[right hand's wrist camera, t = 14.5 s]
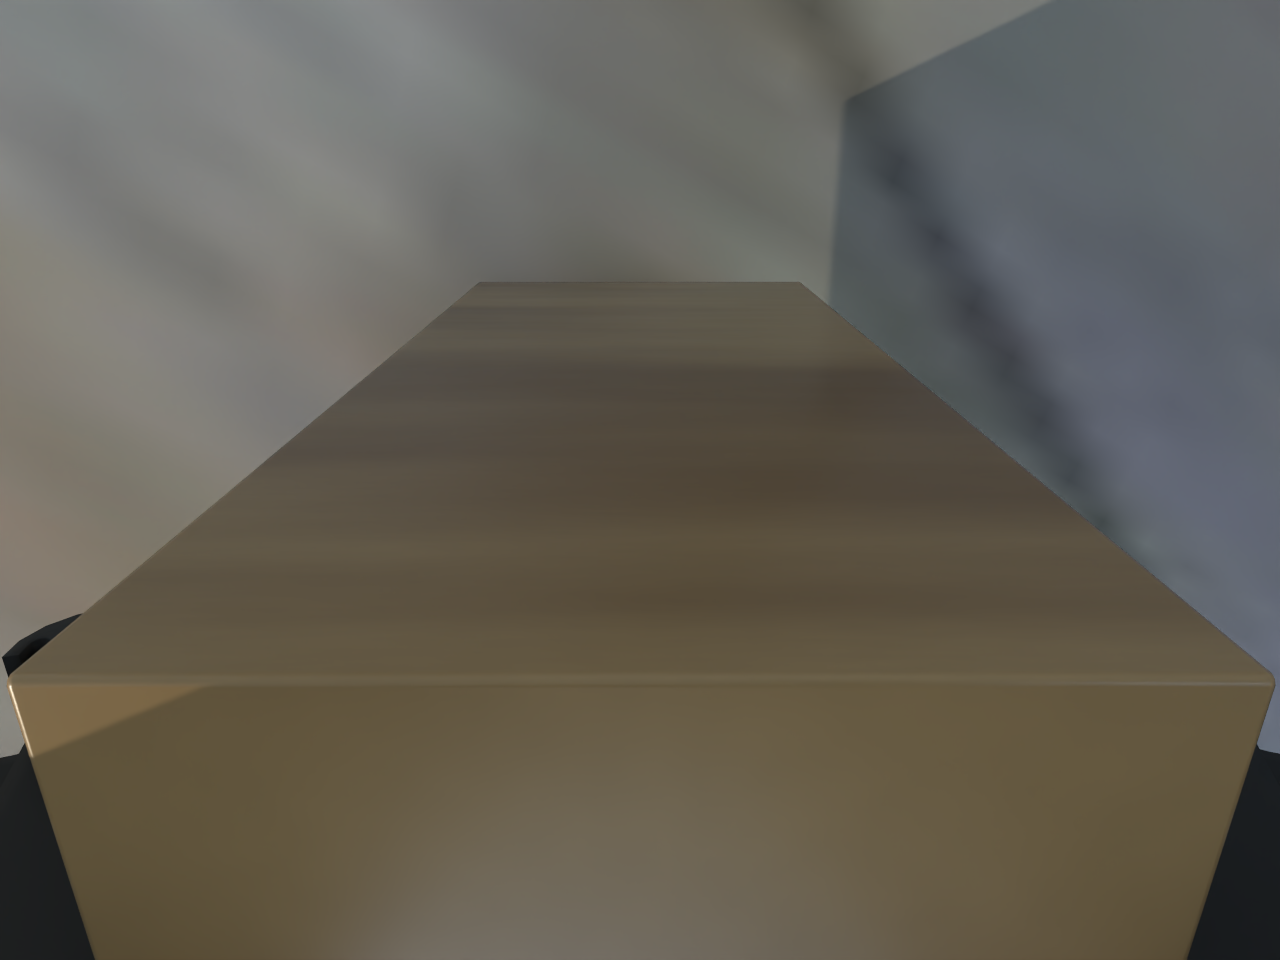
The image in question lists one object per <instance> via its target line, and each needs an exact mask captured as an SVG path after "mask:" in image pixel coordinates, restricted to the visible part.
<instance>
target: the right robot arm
mask: <svg viewBox="0 0 1280 960" xmlns="http://www.w3.org/2000/svg"><path fill="white" fill-rule="evenodd" d="M81 615H82V614H78V615H75V616H72V617H70V618H67V619H64V620H61V621H58V622H56V623H53V624H50V625H47V626H45V627H43V628H42V629H40V630H38V631H36V632H34V633H33V634H31V635H29V636H27V637H25V638H24V639H22V640H20V641H19V642H18V643H17V644H15V645H14V646H13V647H12V648H11V649H10V650H9V651H8V652H7V653H6V654H5V655H4V656H3V657H2V659H3V662H4V665H5V668H6V671H7V674H8V678H9V676H10V674H11V673H12V672H14V671H15V670H16V669H17V668H18V667H20V666H21V665H22V664H23V663H24V662H26V661H27V660H28V659H29V658H30V657H32V656H33V655H34V654H35V653H36V652H38V651H39V650H40V649H41V648H42V647H44V646H45V645H46V644H47V643H48V642H50V641H51V640H52V639H53V638H54V637H56V636H57V635H58V634H59V633H60V632H62V631H63V630H64V629H65V628H66V627H68V626H69V625H70V624H71V623H72V622H74V621H75V620H76V619H77V618H78V617H79V616H81ZM0 960H95V958H94V955H93V952H92V949H91V946H90V943H89V939H88V936H87V933H86V930H85V927H84V924H83V921H82V918H81V915H80V912H79V908H78V905H77V902H76V899H75V896H74V893H73V890H72V887H71V884H70V881H69V877H68V874H67V871H66V868H65V865H64V862H63V859H62V856H61V853H60V850H59V846H58V843H57V840H56V837H55V834H54V831H53V828H52V825H51V822H50V818H49V815H48V812H47V809H46V806H45V803H44V800H43V797H42V794H41V791H40V787H39V784H38V781H37V778H36V775H35V772H34V769H33V766H32V763H31V760H30V756H29V753H28V750H27V747H26V744H25V743H24V745H23V747H22V749H21V751H20V753H19V754H16V755H12V756H8V757H2V758H0ZM1187 960H1280V754H1278V753H1273V752H1268V751H1264V750H1260V749H1259V747H1258V745H1257V744H1256V747H1255V750H1254V753H1253V756H1252V759H1251V762H1250V765H1249V768H1248V772H1247V775H1246V778H1245V781H1244V784H1243V787H1242V790H1241V793H1240V796H1239V799H1238V803H1237V806H1236V809H1235V812H1234V815H1233V818H1232V821H1231V824H1230V827H1229V830H1228V833H1227V837H1226V840H1225V843H1224V846H1223V849H1222V852H1221V855H1220V858H1219V861H1218V864H1217V868H1216V871H1215V874H1214V877H1213V880H1212V883H1211V886H1210V889H1209V892H1208V895H1207V899H1206V902H1205V905H1204V908H1203V911H1202V914H1201V917H1200V920H1199V923H1198V926H1197V929H1196V933H1195V936H1194V939H1193V942H1192V945H1191V948H1190V951H1189V954H1188V957H1187Z"/></svg>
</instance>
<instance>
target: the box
mask: <svg viewBox="0 0 1280 960" xmlns="http://www.w3.org/2000/svg"><path fill="white" fill-rule="evenodd" d="M7 688H8V691H9V694H10V698H11V701H12V704H13V707H14V710H15V713H16V716H17V719H18V722H19V725H20V729H21V732H22V735H23V738H24V741H25V744H26V747H27V750H28V753H29V756H30V760H31V763H32V766H33V769H34V772H35V775H36V778H37V781H38V784H39V787H40V791H41V794H42V797H43V800H44V803H45V806H46V809H47V812H48V815H49V818H50V822H51V825H52V828H53V831H54V834H55V837H56V840H57V843H58V846H59V850H60V853H61V856H62V859H63V862H64V865H65V868H66V871H67V874H68V877H69V881H70V884H71V887H72V890H73V893H74V896H75V899H76V902H77V905H78V908H79V912H80V915H81V918H82V921H83V924H84V927H85V930H86V933H87V936H88V939H89V943H90V946H91V949H92V952H93V955H94V958H95V960H1187V957H1188V954H1189V951H1190V948H1191V945H1192V942H1193V939H1194V936H1195V933H1196V929H1197V926H1198V923H1199V920H1200V917H1201V914H1202V911H1203V908H1204V905H1205V902H1206V899H1207V895H1208V892H1209V889H1210V886H1211V883H1212V880H1213V877H1214V874H1215V871H1216V868H1217V864H1218V861H1219V858H1220V855H1221V852H1222V849H1223V846H1224V843H1225V840H1226V837H1227V833H1228V830H1229V827H1230V824H1231V821H1232V818H1233V815H1234V812H1235V809H1236V806H1237V803H1238V799H1239V796H1240V793H1241V790H1242V787H1243V784H1244V781H1245V778H1246V775H1247V772H1248V768H1249V765H1250V762H1251V759H1252V756H1253V753H1254V750H1255V747H1256V744H1257V741H1258V737H1259V734H1260V731H1261V728H1262V725H1263V722H1264V719H1265V716H1266V713H1267V710H1268V707H1269V703H1270V700H1271V697H1272V694H1273V691H1274V688H1275V678H1274V677H1273V675H1272V673H1271V672H1270V671H1268V670H1267V669H1266V668H1265V667H1263V666H1262V665H1261V664H1260V663H1259V662H1257V661H1256V660H1255V659H1254V658H1253V657H1251V656H1250V655H1249V654H1248V653H1247V652H1245V651H1244V650H1243V649H1242V648H1241V647H1239V646H1238V645H1237V644H1236V643H1235V642H1233V641H1232V640H1231V639H1230V638H1229V637H1227V636H1226V635H1225V634H1224V633H1222V632H1221V631H1220V630H1219V629H1218V628H1216V627H1215V626H1214V625H1213V624H1212V623H1210V622H1209V621H1208V620H1207V619H1206V618H1204V617H1203V616H1202V615H1201V614H1200V613H1198V612H1197V611H1196V610H1195V609H1194V608H1192V607H1191V606H1190V605H1189V604H1188V603H1186V602H1185V601H1184V600H1183V599H1181V598H1180V597H1179V596H1178V595H1177V594H1175V593H1174V592H1173V591H1172V590H1171V589H1169V588H1168V587H1167V586H1166V585H1165V584H1163V583H1162V582H1161V581H1160V580H1159V579H1157V578H1156V577H1155V576H1154V575H1153V574H1151V573H1150V572H1149V571H1148V570H1147V569H1145V568H1144V567H1143V566H1142V565H1140V564H1139V563H1138V562H1137V561H1136V560H1134V559H1133V558H1132V557H1131V556H1130V555H1128V554H1127V553H1126V552H1125V551H1124V550H1122V549H1121V548H1120V547H1119V546H1118V545H1116V544H1115V543H1114V542H1113V541H1112V540H1110V539H1109V538H1108V537H1107V536H1106V535H1104V534H1103V533H1102V532H1101V531H1099V530H1098V529H1097V528H1096V527H1095V526H1093V525H1092V524H1091V523H1090V522H1089V521H1087V520H1086V519H1085V518H1084V517H1083V516H1081V515H1080V514H1079V513H1078V512H1077V511H1075V510H1074V509H1073V508H1072V507H1071V506H1069V505H1068V504H1067V503H1066V502H1065V501H1063V500H1062V499H1061V498H1060V497H1058V496H1057V495H1056V494H1055V493H1054V492H1052V491H1051V490H1050V489H1049V488H1048V487H1046V486H1045V485H1044V484H1043V483H1042V482H1040V481H1039V480H1038V479H1037V478H1036V477H1034V476H1033V475H1032V474H1031V473H1030V472H1028V471H1027V470H1026V469H1025V468H1024V467H1022V466H1021V465H1020V464H1019V463H1017V462H1016V461H1015V460H1014V459H1013V458H1011V457H1010V456H1009V455H1008V454H1007V453H1005V452H1004V451H1003V450H1002V449H1001V448H999V447H998V446H997V445H996V444H995V443H993V442H992V441H991V440H990V439H989V438H987V437H986V436H985V435H984V434H983V433H981V432H980V431H979V430H978V429H976V428H975V427H974V426H973V425H972V424H970V423H969V422H968V421H967V420H966V419H964V418H963V417H962V416H961V415H960V414H958V413H957V412H956V411H955V410H954V409H952V408H951V407H950V406H949V405H948V404H946V403H945V402H944V401H943V400H942V399H940V398H939V397H938V396H937V395H935V394H934V393H933V392H932V391H931V390H929V389H928V388H927V387H926V386H925V385H923V384H922V383H921V382H920V381H919V380H917V379H916V378H915V377H914V376H913V375H911V374H910V373H909V372H908V371H907V370H905V369H904V368H903V367H902V366H901V365H899V364H898V363H897V362H896V361H894V360H893V359H892V358H891V357H890V356H888V355H887V354H886V353H885V352H884V351H882V350H881V349H880V348H879V347H878V346H876V345H875V344H874V343H873V342H872V341H870V340H869V339H868V338H867V337H866V336H864V335H863V334H862V333H861V332H860V331H858V330H857V329H856V328H855V327H853V326H852V325H851V324H850V323H849V322H847V321H846V320H845V319H844V318H843V317H841V316H840V315H839V314H838V313H837V312H835V311H834V310H833V309H832V308H831V307H829V306H828V305H827V304H826V303H825V302H823V301H822V300H821V299H820V298H819V297H817V296H816V295H815V294H814V293H812V292H811V291H810V290H809V289H808V288H806V287H805V286H804V285H803V284H802V283H800V282H480V283H478V284H477V285H476V286H474V287H473V288H472V289H471V290H470V291H468V292H467V293H466V294H465V295H464V296H462V297H461V298H460V299H459V300H458V301H456V302H455V303H454V304H453V305H452V306H450V307H449V308H448V309H447V310H446V311H444V312H443V313H442V314H441V315H440V316H438V317H437V318H436V319H435V320H434V321H432V322H431V323H430V324H429V325H428V326H427V327H425V328H424V329H423V330H422V331H421V332H419V333H418V334H417V335H416V336H415V337H413V338H412V339H411V340H410V341H409V342H407V343H406V344H405V345H404V346H403V347H401V348H400V349H399V350H398V351H397V352H395V353H394V354H393V355H392V356H391V357H389V358H388V359H387V360H386V361H385V362H383V363H382V364H381V365H380V366H379V367H377V368H376V369H375V370H374V371H373V372H371V373H370V374H369V375H368V376H367V377H365V378H364V379H363V380H362V381H361V382H360V383H358V384H357V385H356V386H355V387H354V388H352V389H351V390H350V391H349V392H348V393H346V394H345V395H344V396H343V397H342V398H340V399H339V400H338V401H337V402H336V403H334V404H333V405H332V406H331V407H330V408H328V409H327V410H326V411H325V412H324V413H322V414H321V415H320V416H319V417H318V418H316V419H315V420H314V421H313V422H312V423H310V424H309V425H308V426H307V427H306V428H304V429H303V430H302V431H301V432H300V433H298V434H297V435H296V436H295V437H294V438H292V439H291V440H290V441H289V442H288V443H287V444H285V445H284V446H283V447H282V448H281V449H279V450H278V451H277V452H276V453H275V454H273V455H272V456H271V457H270V458H269V459H267V460H266V461H265V462H264V463H263V464H261V465H260V466H259V467H258V468H257V469H255V470H254V471H253V472H252V473H251V474H249V475H248V476H247V477H246V478H245V479H243V480H242V481H241V482H240V483H239V484H237V485H236V486H235V487H234V488H233V489H231V490H230V491H229V492H228V493H227V494H225V495H224V496H223V497H222V498H221V499H219V500H218V501H217V502H216V503H215V504H214V505H212V506H211V507H210V508H209V509H208V510H206V511H205V512H204V513H203V514H202V515H200V516H199V517H198V518H197V519H196V520H194V521H193V522H192V523H191V524H190V525H188V526H187V527H186V528H185V529H184V530H182V531H181V532H180V533H179V534H178V535H176V536H175V537H174V538H173V539H172V540H170V541H169V542H168V543H167V544H166V545H164V546H163V547H162V548H161V549H160V550H158V551H157V552H156V553H155V554H154V555H152V556H151V557H150V558H149V559H148V560H147V561H145V562H144V563H143V564H142V565H141V566H139V567H138V568H137V569H136V570H135V571H133V572H132V573H131V574H130V575H129V576H127V577H126V578H125V579H124V580H123V581H121V582H120V583H119V584H118V585H117V586H115V587H114V588H113V589H112V590H111V591H109V592H108V593H107V594H106V595H105V596H103V597H102V598H101V599H100V600H99V601H97V602H96V603H95V604H94V605H93V606H91V607H90V608H89V609H88V610H87V611H85V612H84V613H83V614H82V615H81V616H79V617H78V618H77V619H76V620H75V621H74V622H72V623H71V624H70V625H69V626H68V627H66V628H65V629H64V630H63V631H62V632H60V633H59V634H58V635H57V636H56V637H54V638H53V639H52V640H51V641H50V642H48V643H47V644H46V645H45V646H44V647H42V648H41V649H40V650H39V651H38V652H36V653H35V654H34V655H33V656H32V657H30V658H29V659H28V660H27V661H26V662H24V663H23V664H22V665H21V666H20V667H18V668H17V669H16V670H15V671H14V672H12V673H11V674H10V676H9V678H8V680H7Z"/></svg>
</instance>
